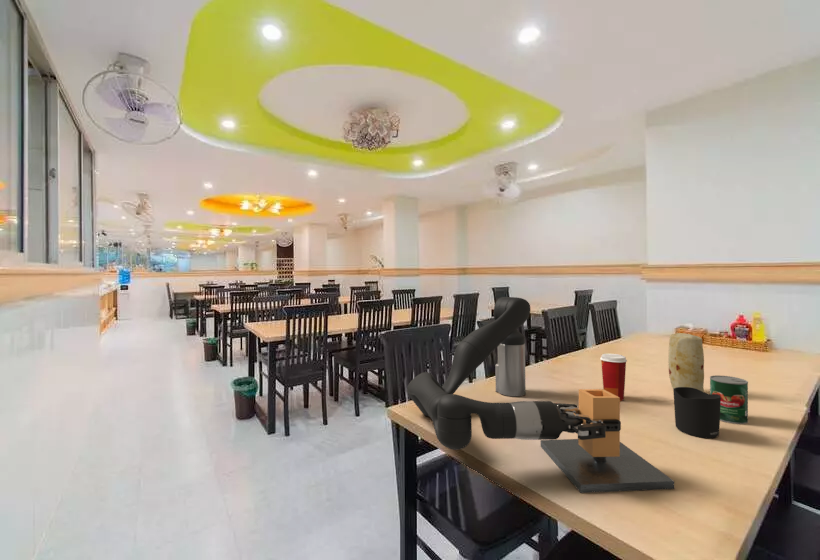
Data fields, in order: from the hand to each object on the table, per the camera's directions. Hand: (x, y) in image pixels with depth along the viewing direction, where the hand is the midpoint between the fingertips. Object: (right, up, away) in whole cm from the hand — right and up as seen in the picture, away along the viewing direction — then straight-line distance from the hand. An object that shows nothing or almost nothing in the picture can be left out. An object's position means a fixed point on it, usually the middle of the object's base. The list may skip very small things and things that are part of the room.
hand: (610, 419), depth 74 cm
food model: (+52, -9, +46) cm, 70 cm away
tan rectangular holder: (-3, -6, 0) cm, 7 cm away
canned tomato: (+46, -9, +23) cm, 53 cm away
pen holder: (+31, -10, +16) cm, 36 cm away
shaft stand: (-2, -10, 0) cm, 10 cm away
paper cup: (+24, -9, +41) cm, 49 cm away
